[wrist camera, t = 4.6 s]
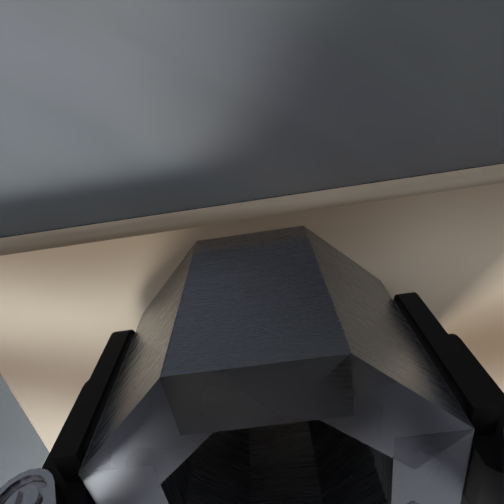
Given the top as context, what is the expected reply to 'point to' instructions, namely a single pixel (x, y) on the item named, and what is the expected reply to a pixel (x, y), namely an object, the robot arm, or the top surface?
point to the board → (236, 223)
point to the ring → (277, 388)
